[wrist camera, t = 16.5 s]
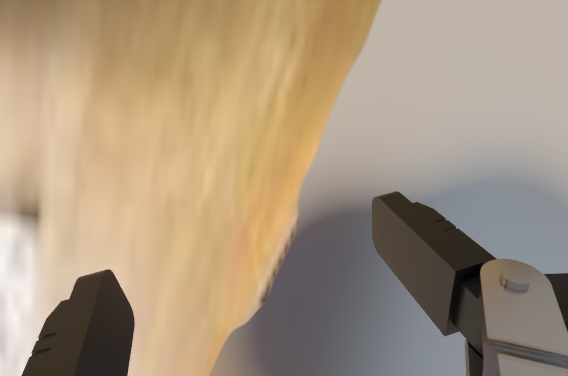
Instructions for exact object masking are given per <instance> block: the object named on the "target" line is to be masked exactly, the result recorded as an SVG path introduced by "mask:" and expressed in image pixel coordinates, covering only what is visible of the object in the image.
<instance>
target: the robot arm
mask: <svg viewBox="0 0 568 376" xmlns="http://www.w3.org/2000/svg"><path fill="white" fill-rule="evenodd" d="M372 237H373V242H374V246H375V248H376V250H377V252H378V254H379V255H380V256H381V258H382V259H383V260H384V261H385V263H386V264H387V265H388V266H389V267H390V269H391V270H392V271H393V273H394V274H395V275H396V276H397V277H398V279H399V280H400V281H401V283H402V284H403V285H404V286H405V287H406V289H407V290H408V291H409V292H410V294H411V295H412V296H413V297H414V299H415V300H416V301H417V302H418V304H419V305H420V306H421V307H422V309H423V310H424V311H425V312H426V313H427V315H428V316H429V317H430V319H431V320H432V321H433V322H434V324H435V325H436V326H437V327H438V329H440V331H441V332H442V334H443V335H444V336H447V335H450V334H453V333H456V332H459V331H460V332H461V333H462V334H463V336H464V337H465V338H466V340H465V360H466V376H568V273H566V274H565V273H564V274H543V273H541V272H540V271H539V270H537V269H536V268H534V267H532V266H530V265H528V264H525V263H523V262H519V261H516V260H510V259H496V258H495V257H493V256H492V255H491V254H490V253H488V252H487V251H486V250H485V249H483V248H482V247H480V246H479V245H478V244H477V243H476V242H475V241H473V240H472V239H471V238H469V237H468V236H467V235H466V234H464V233H463V232H462V231H461V230H459V229H456V227H455V226H454V225H453V224H452V223H451V222H449V221H448V220H447V221H446V219H445V218H444V217H443V216H442V215H440V214H439V213H438V212H437V211H436V210H434V209H433V208H430V207H428V206H425V205H423V204H420V203H418V202H416V203H412V202H410V201H409V200H408V199H407V198H405V196H403V195H402V194H401V193H400V192H393V193H389V194H385V195H381V196H378V197H375V198H374V199H373V201H372ZM133 333H134V315H133V311H132V308H131V305H130V303H129V302H128V300H127V298H126V296H125V294H124V292H123V290H122V288H121V287H120V285H119V283H118V281H117V279H116V277H115V275H114V274H113V272H112V271H111V270H109V269H107V270H104V271H100V272H96V273H93V274H89V275H85V276H82V277H79V278H78V279H77V281H76V283H75V286H74V288H73V291H72V293H71V296H70V299H68V300H64V301H61V302H60V303H59V305H58V306H57V307H56V308H55V309H54V311H53V312H52V313H51V314H50V315H49V316H48V318H47V319H46V321H45V323H44V325H43V328H42V330H41V332H40V335H39V337H38V338H39V341H36V344H35V346H34V348H33V351H32V356H31V357H29V360H28V362H27V364H26V367H25V369H24V371H23V374H22V376H127V374H128V367H129V360H130V354H131V347H132V340H133Z"/></svg>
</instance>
